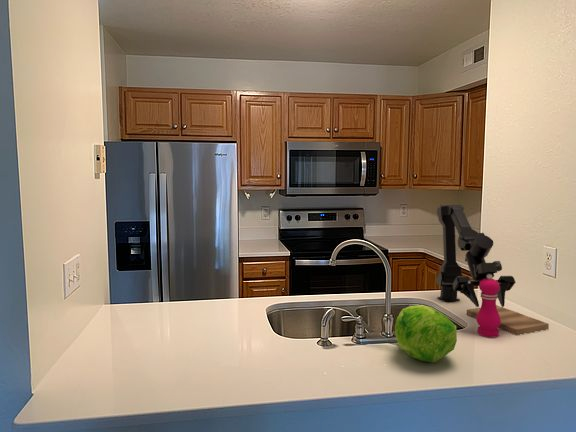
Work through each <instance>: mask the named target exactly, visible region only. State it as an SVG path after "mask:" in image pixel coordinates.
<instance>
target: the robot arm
mask: <svg viewBox="0 0 576 432" xmlns="http://www.w3.org/2000/svg"><path fill="white" fill-rule="evenodd" d="M464 210H465V209H464V205H462V204H440V205H439V207H437V208H436V215H437V218H438V219H437V220H438V222H439V223H440V224H441V226H442V239H443V240H442V241H443V242H442V243H443V262H442V264H441V265H440V268H439V272H438V273H437V274H438V275H437V277H436V285H438V286H439V287H440V296H437V299H439V300H441V301H443V302H445V303H450V302H456V301H457V302H459V301H460V298H458V292H459V293H460V294H463V295H464V296H465V297H466V298H468V300H470V301H471V303H472V304H474V306H475V308H480V304H479V303H480V302H479V300H478V297H477V295H476V291H475V287H479V284H480V281H481V280H483V279H486V278H487V277H486V276H487V274H491V275H492V276H493V277H492V279H494V277H495V274H497V273H498V272H500V271H502V270H503V266H502V263H501V261H500V260H494V261H492V262H486V257H487V256H489V253H490V251H491V249H492V247H494V240H493V239H492V238H491V237H489V236H488V235H485V232H478V231H477V230H474V229H473V228H472V227H471V224H470V222H469V220H468V217H467V216H466V214H465V211H464ZM456 232H457V233H458V238H457V247H458V248H459V249H460V251H463V252H466V253H465V255H464V257H465V258H464V262H466V263H467V266H468V269H469V271H468V274H469V276H471V278H472V279H470V277H469V276H468V275H465V276H464V275H463V273H462V267H461V266H460V265H459V264H458V262H457V252H456V251H457V249H456ZM495 280H496V281H497V282H498V283H499V286H500V289H499V291H498V292H497V293H496V294H498V296H497V297H498V298H497V300H498V301H499V304H500V307H503V308H505V303H506V302H505V301H506V300H505V299H506V292H507V291H510V290H511V289H512V288H513V287H514V286H515V284H516V280H515V278H514V276H513V275H500V276H499V278H498V279H495Z"/></svg>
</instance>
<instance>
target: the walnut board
mask: <svg viewBox="0 0 576 432" xmlns="http://www.w3.org/2000/svg"><path fill="white" fill-rule="evenodd" d="M480 308H481V307H475V308H470V309H466V316H469V317H471V318H473V319H477V314H478V312H479V310H480ZM496 308H497V311H498V313H499V316H500V319H501V325H500V326H499V327H498V329H500V330H503V331H504V330H505V332H507V333H509V332H510V333H509V334H511V333H512V335H514V334H515V335H514V336H520V334H522V335H525V334H524V333H527V334H531V333H530V332H532V333H536V332H535V331H538V332H542V331H541V330H543V331H547V330H546V329H548V330H549V328H550V327H549V326H550V325H549V323H547V322H544V321H542V320H540V319H536V318H533V317H531V316H528V315H525V314H522V313H519V312H517V311H515V310H511V309H508V308H505V307H502V306H501V305H500V306H499V305H497V304H496Z"/></svg>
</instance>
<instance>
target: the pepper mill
mask: <svg viewBox="0 0 576 432" xmlns="http://www.w3.org/2000/svg"><path fill="white" fill-rule="evenodd" d="M486 277H487V278H486V279H483V280H481V281H480V284H479V286H478V288H479V290H480V298H481V305H480V307H479V308H480V310H479V312H478V314H477V319H476V320H475V322H476V324H477V325H478V327H477V333H478V335H480V336H482V337H487V338H497V337H499V336H500V330H499V328H498V327H499V326H500V325H501V319H500V316H499V313H498V311H497V308H496V305H497V300H498V297H497V296H498V294H496V293H497V292H498V291H499V289H500V286H499V283H498V282H497V281H496V280H497V279H495V278H494V277H493V276H492V275H491V274H487V276H486ZM492 277H493V278H492Z"/></svg>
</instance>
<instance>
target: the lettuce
mask: <svg viewBox="0 0 576 432" xmlns="http://www.w3.org/2000/svg"><path fill="white" fill-rule="evenodd" d="M395 321H396V322H395V324H394V325H395V326H394V333H395V339H396V341H397V345H398V347H399V348H400V350H402V351H403V352H405V353H406V354H407V355H408V356H409V357H411V358H414V359H415V360H418V361H420V362H421V361H422V362H427V363H436V362H438V361H440V360H441V359H442V358H444V357H446V356H447V355H448V354H450V353H451V352H452V351H454V350H455V347H456V345H457V342H458V341H457V339H458V338H457V335H458V334H457V332H458V331H457V325H456V324H454V322H452V321H451V320H450V318H449V317H447V315H445V314H443V313H442V312H440V311H438V310H437V309H435V308H433V307H431V306H427V305H421V304H419V305H411V306H410V305H409V306H407V307H404V308H402V309H401V311H400V312H399V314H398V316H397V317H396V320H395Z"/></svg>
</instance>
